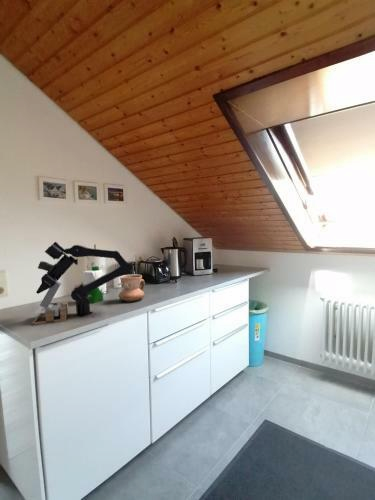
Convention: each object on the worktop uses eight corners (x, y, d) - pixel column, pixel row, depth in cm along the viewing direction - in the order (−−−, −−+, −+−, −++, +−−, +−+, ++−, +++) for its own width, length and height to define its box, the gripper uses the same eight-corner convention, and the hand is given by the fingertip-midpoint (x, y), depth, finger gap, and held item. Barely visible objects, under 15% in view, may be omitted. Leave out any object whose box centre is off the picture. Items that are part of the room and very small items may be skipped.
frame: (65, 320, 131) (64, 309, 131) (32, 325, 127) (31, 312, 127) (68, 311, 146) (67, 301, 146) (39, 315, 142) (38, 304, 142)
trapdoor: (58, 316, 132) (58, 309, 132) (35, 318, 129) (35, 312, 129) (61, 309, 144) (61, 303, 143) (40, 311, 141) (40, 305, 141)
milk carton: (105, 300, 168) (103, 266, 167) (93, 304, 160) (91, 268, 159) (95, 298, 173) (93, 266, 171) (83, 302, 165) (80, 268, 164)
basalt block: (48, 306, 138) (61, 283, 140) (46, 308, 134) (60, 284, 135) (41, 303, 137) (54, 280, 139) (39, 305, 133) (53, 281, 134)
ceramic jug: (126, 305, 155) (125, 279, 154) (112, 300, 165) (111, 276, 164) (152, 299, 168) (152, 275, 167) (138, 295, 178) (137, 272, 177)
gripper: (51, 253, 144) (28, 277, 141) (45, 256, 126) (19, 283, 124) (69, 267, 147) (47, 291, 144) (65, 272, 129) (40, 299, 126)
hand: (38, 291), depth 135 cm, fingers open, 9 cm apart
